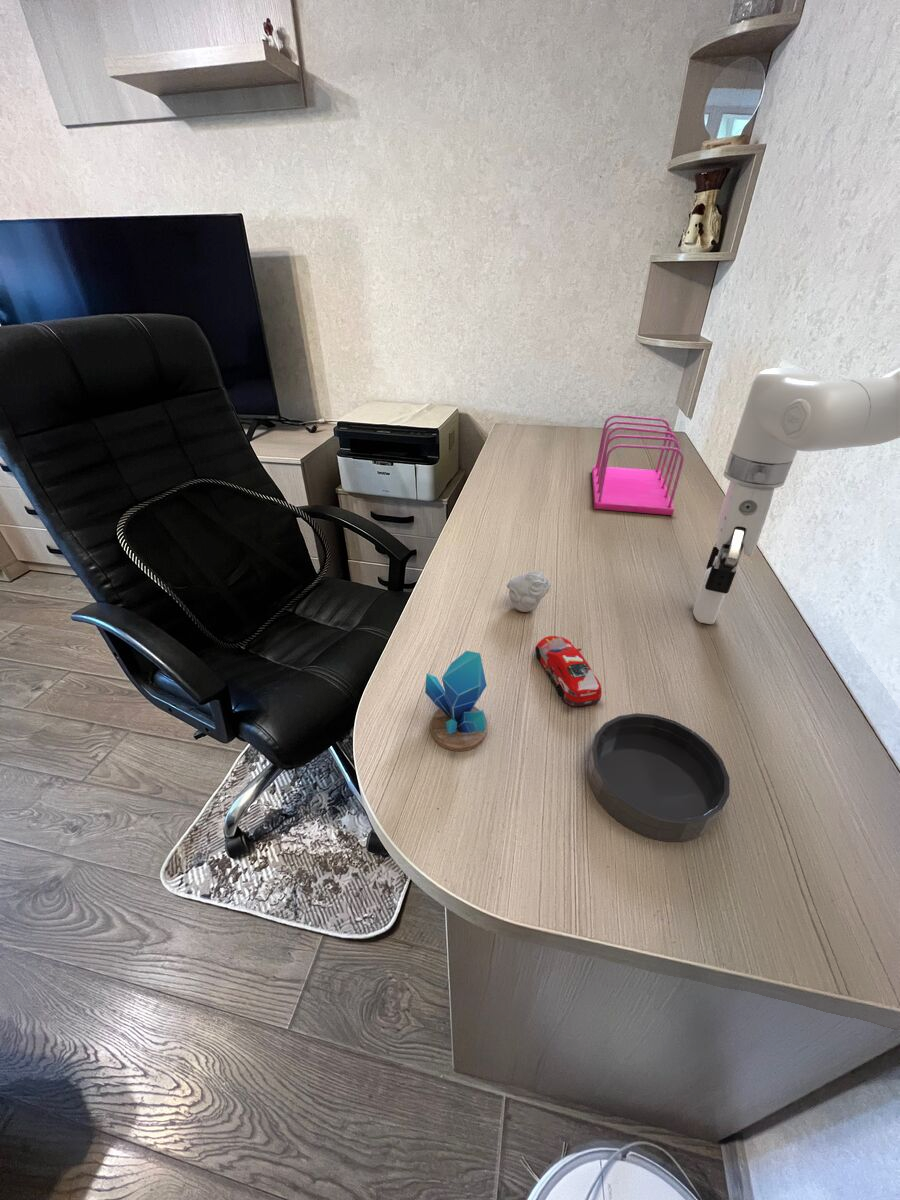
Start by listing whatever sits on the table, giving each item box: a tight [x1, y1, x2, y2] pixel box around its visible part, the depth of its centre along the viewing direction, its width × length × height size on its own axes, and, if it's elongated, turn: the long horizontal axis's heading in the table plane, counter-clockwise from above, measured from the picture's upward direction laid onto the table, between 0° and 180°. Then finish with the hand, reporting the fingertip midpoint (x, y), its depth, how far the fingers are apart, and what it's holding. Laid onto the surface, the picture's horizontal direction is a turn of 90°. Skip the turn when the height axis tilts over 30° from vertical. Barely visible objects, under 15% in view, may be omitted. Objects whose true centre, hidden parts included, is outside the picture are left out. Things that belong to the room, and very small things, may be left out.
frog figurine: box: [506, 570, 552, 613], centre depth 82 cm, size 6×7×7 cm
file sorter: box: [591, 414, 685, 516], centre depth 120 cm, size 17×25×16 cm
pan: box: [587, 712, 731, 843], centre depth 55 cm, size 14×14×4 cm
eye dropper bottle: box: [692, 553, 728, 625], centre depth 79 cm, size 4×6×12 cm
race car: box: [535, 635, 602, 708], centre depth 69 cm, size 13×5×4 cm, turn 13°
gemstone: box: [424, 650, 489, 752], centre depth 59 cm, size 7×9×12 cm
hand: (716, 579), depth 78 cm, fingers closed on eye dropper bottle, 5 cm apart
